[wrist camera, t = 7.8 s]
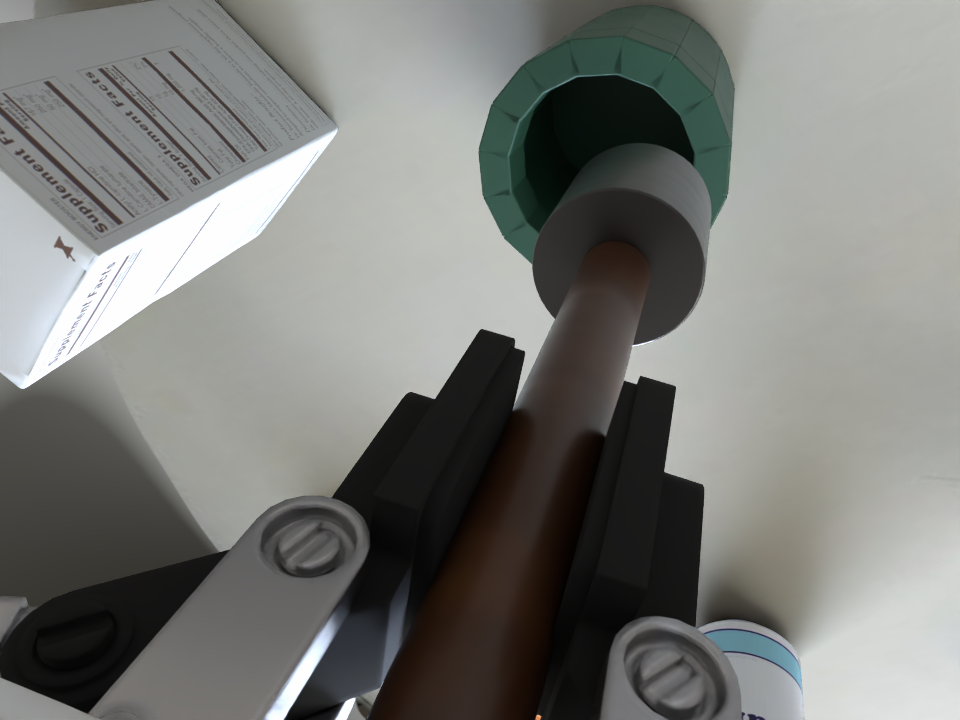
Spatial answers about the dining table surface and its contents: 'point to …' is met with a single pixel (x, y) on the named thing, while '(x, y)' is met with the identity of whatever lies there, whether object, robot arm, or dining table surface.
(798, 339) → the dining table surface
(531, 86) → the jar
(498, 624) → the dowel with disc base
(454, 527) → the robot arm
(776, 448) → the dining table surface
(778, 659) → the beverage can
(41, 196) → the supplement box
